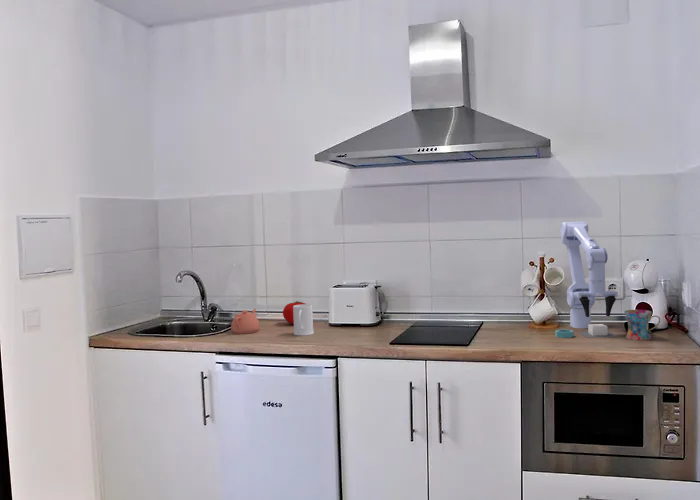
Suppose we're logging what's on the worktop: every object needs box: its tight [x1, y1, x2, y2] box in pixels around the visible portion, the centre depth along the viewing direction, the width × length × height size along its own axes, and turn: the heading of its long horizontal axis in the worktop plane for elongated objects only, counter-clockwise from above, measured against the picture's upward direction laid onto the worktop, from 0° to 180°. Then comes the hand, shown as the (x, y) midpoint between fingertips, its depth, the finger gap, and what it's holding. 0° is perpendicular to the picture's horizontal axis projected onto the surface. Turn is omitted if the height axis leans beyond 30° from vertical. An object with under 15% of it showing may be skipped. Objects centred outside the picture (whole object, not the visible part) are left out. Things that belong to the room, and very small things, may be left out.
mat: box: [577, 330, 620, 339], centre depth 249 cm, size 12×12×1 cm
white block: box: [587, 323, 609, 336], centre depth 248 cm, size 5×5×3 cm
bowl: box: [554, 328, 575, 339], centre depth 247 cm, size 6×6×3 cm
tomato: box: [282, 300, 306, 325], centre depth 304 cm, size 13×12×11 cm
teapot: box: [230, 308, 261, 335], centre depth 288 cm, size 12×18×10 cm
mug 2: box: [623, 309, 661, 341], centre depth 239 cm, size 12×9×11 cm
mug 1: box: [293, 303, 315, 337], centre depth 276 cm, size 12×8×12 cm
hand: (597, 316), depth 248 cm, fingers open, 7 cm apart
